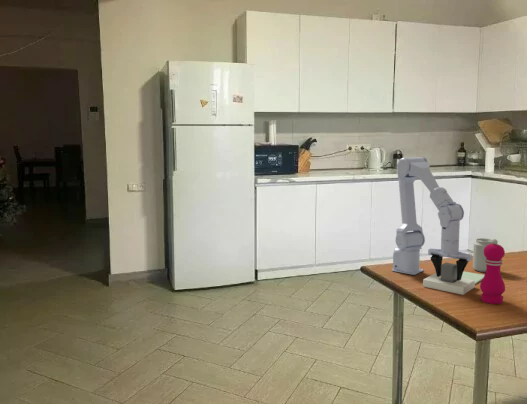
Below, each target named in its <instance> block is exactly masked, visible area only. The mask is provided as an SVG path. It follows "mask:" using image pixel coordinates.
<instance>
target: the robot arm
mask: <svg viewBox="0 0 527 404" xmlns="http://www.w3.org/2000/svg"><path fill="white" fill-rule="evenodd" d="M430 164H431V163H430V162H429V161H428V159H427V157H425V156H417V157H402V158H400V159H399V160H398V162H397V164H396V169H397V171H396V172H397V179H398V187H399V188H398V189H399V190H398V191H399V203H400V204H399V205H400V213H401V225H400V226H398V228H396V231H395V232H396V235H395V245H396V246H397V247H395V249H394V251H393V253H392V254H393V255H392V269H391V272H392V271H393V272H396V273H401V274H408V275H413V276H415V275H417V274H420V273H421V272H423V271H424V269H423V268H420V258H421V257H420V256H421V255H420V254H421V252H420V251H421V250H422V247H423V246H424V245H425V242H426V237H425V234H424V232H423V231H424V230H423V227H422V226H421V225H420V224H418V223H417V222H418V221H417V213H416V212H417V209H416V200H415V199H416V198H415V187H414V185H415V184H414V183H415V181H416V180H417V179H418V178H419V180H421V182H422V184H424V186H425V187H426V189H428V191H429V198H430V199H431V201H432V203H433V204H434V205H435V208H437V210H438V212H437V216H438V219H439V222H440V223H439V225H440V227H441V233H440V235H441V237H440V248H429V249H428V250H427V251H428V252H427V255H428V256H430V261H431V263H432V265H433V266H434V271H435V273H436V275H437V277H439V276H441V265H442V264H443V258H449V259H450V258H451V259H455V260H456V259H457V260H456V262H455V264H457V280H458V281H459V280H461V278H462V274H463V271H465V270H466V267H467V265H468V264H469V262H472V261H473V254H472V253H471V254H470V253H465V252H462V251H460V250H459V249H460V248H459V247H460V221H461V220H463V218H464V215H465V210H464V207H463V206H462V204H460V203H457V202H456V201H454V200H453V199H452V198H451V196H450V194H449V193H448V191H447V189H446V188H445V187H442V186H439V183H438V182H437V180H436V178H435V177H434V175H433V174H432V172H431V170H430V166H431V165H430Z"/></svg>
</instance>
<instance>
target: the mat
mask: <svg viewBox="0 0 527 404" xmlns="http://www.w3.org/2000/svg"><path fill="white" fill-rule="evenodd" d="M484 275H485V274H480V273H475V272H469V271H465V270H464V271H463V274H462V278H465V279H470V280H475V285H477V284H478V283H479V282H480V283H481V281H482V279H483V277H484Z"/></svg>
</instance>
